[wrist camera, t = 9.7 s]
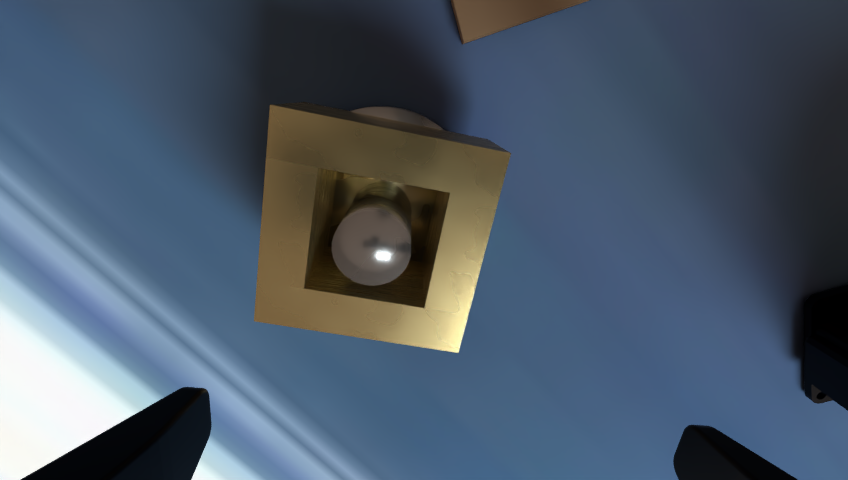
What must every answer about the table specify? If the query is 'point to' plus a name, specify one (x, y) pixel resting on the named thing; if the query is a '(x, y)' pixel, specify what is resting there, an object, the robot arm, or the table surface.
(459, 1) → the walnut stand
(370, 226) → the cylinder
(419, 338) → the brass square frame
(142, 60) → the table surface
